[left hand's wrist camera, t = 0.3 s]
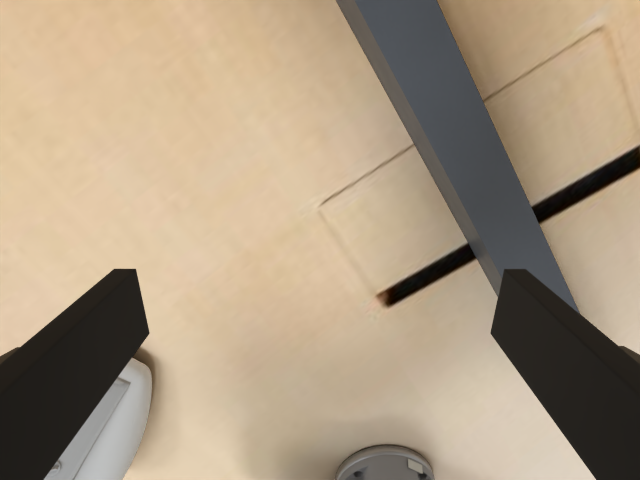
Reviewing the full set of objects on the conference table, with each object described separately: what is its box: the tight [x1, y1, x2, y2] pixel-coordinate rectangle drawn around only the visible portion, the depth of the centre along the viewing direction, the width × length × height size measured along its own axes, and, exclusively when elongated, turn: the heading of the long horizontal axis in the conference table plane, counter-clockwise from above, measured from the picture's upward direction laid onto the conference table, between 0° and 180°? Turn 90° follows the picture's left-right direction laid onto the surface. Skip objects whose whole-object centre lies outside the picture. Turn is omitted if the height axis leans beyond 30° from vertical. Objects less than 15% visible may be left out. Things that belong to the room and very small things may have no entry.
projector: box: [44, 358, 152, 480], centre depth 44 cm, size 22×23×15 cm
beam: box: [336, 0, 580, 314], centre depth 31 cm, size 84×5×8 cm, turn 33°
